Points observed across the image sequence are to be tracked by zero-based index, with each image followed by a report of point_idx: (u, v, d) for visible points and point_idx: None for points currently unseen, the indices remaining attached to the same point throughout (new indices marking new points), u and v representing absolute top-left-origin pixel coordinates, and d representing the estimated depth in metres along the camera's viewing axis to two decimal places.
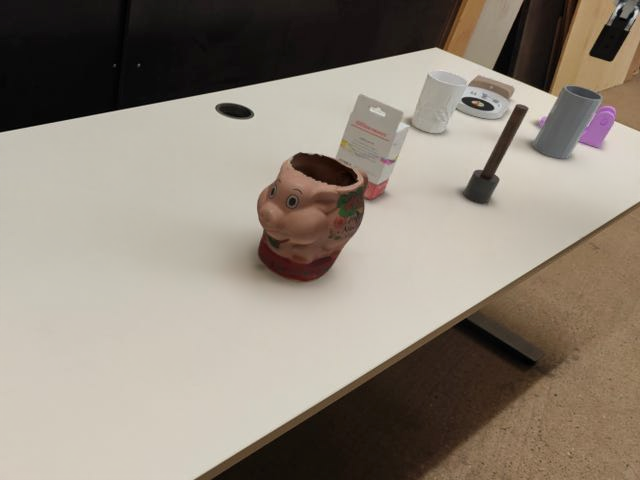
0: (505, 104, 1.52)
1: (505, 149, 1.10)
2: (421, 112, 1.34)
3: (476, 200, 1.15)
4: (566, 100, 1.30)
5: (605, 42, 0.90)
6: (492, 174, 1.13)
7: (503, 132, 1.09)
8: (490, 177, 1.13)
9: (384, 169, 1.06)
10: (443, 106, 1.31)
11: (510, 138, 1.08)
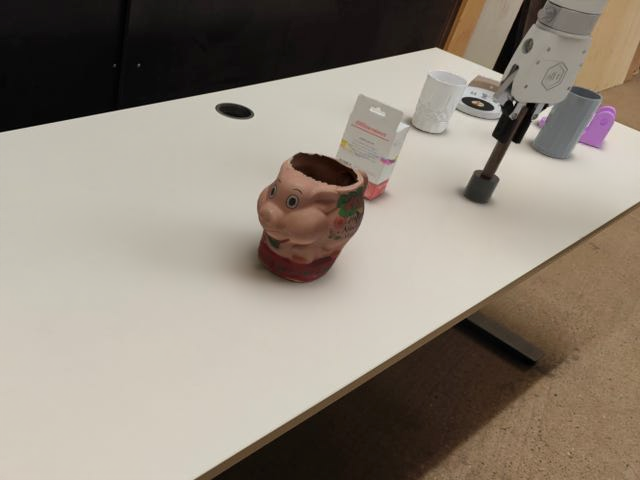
0: None
1: (505, 149, 1.10)
2: (421, 112, 1.34)
3: (476, 200, 1.15)
4: (566, 100, 1.30)
5: (498, 126, 1.08)
6: (492, 174, 1.13)
7: None
8: (490, 177, 1.13)
9: (384, 169, 1.06)
10: (443, 106, 1.31)
11: (510, 138, 1.08)
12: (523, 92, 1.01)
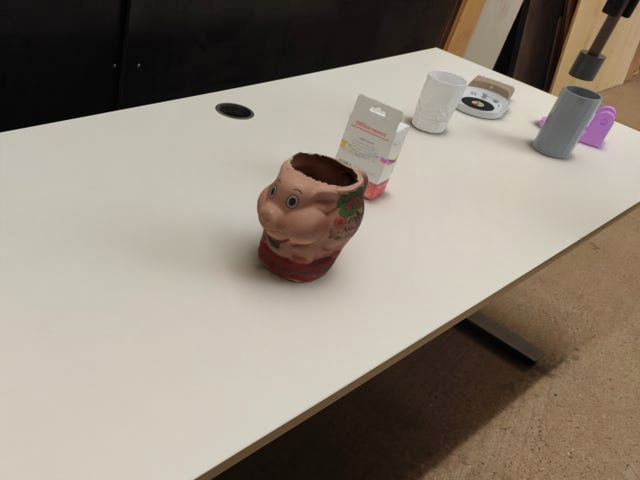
0: (505, 104, 1.52)
1: (615, 24, 1.15)
2: (421, 112, 1.34)
3: (583, 78, 1.20)
4: (566, 100, 1.30)
5: (610, 0, 1.13)
6: (600, 51, 1.18)
7: None
8: (597, 54, 1.18)
9: (384, 169, 1.06)
10: (443, 106, 1.31)
11: (621, 12, 1.13)
12: None
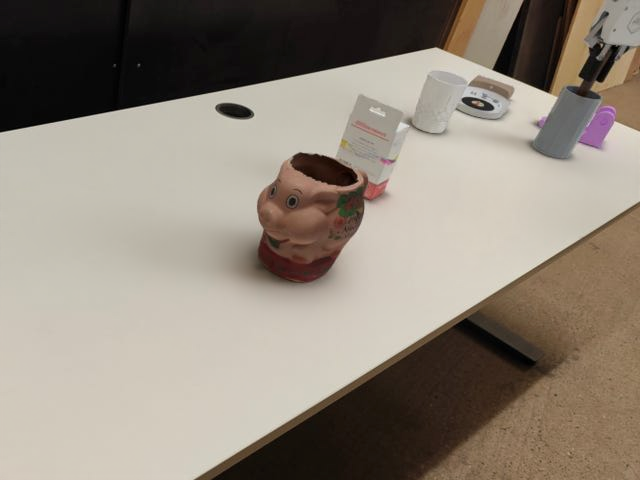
0: (505, 104, 1.52)
1: (590, 87, 1.29)
2: (421, 112, 1.34)
3: None
4: (566, 100, 1.30)
5: (585, 67, 1.27)
6: None
7: None
8: None
9: (384, 169, 1.06)
10: (443, 106, 1.31)
11: (595, 77, 1.27)
12: (611, 35, 1.20)
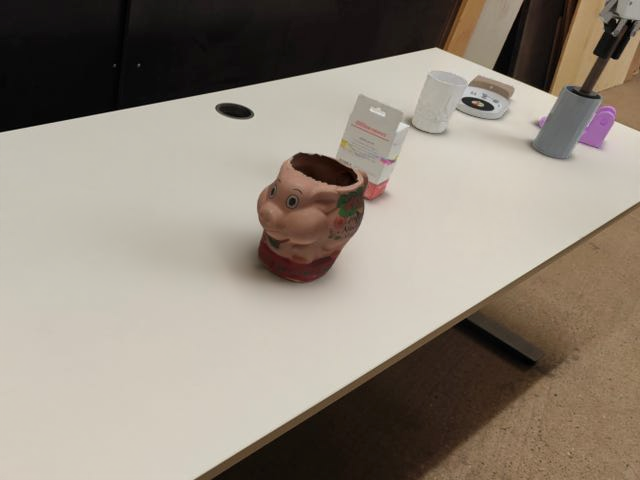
0: (505, 104, 1.52)
1: (604, 65, 1.26)
2: (421, 112, 1.34)
3: None
4: (566, 100, 1.30)
5: (600, 43, 1.24)
6: (591, 88, 1.29)
7: None
8: (589, 91, 1.29)
9: (384, 169, 1.06)
10: (443, 106, 1.31)
11: (610, 54, 1.24)
12: (627, 9, 1.17)
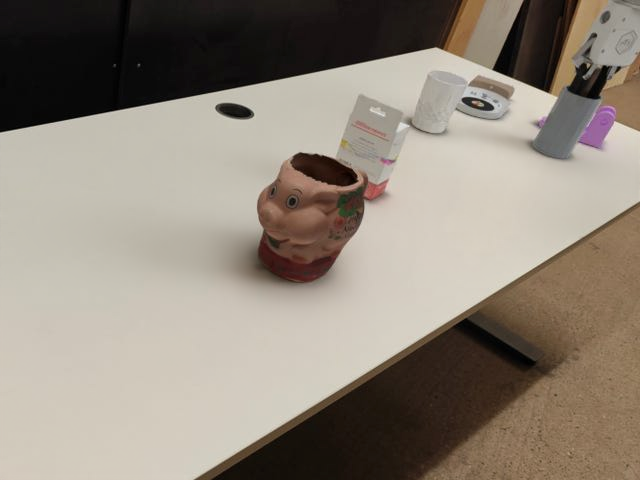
0: (505, 104, 1.52)
1: None
2: (421, 112, 1.34)
3: None
4: (566, 100, 1.30)
5: (572, 86, 1.29)
6: None
7: None
8: None
9: (384, 169, 1.06)
10: (443, 106, 1.31)
11: (585, 95, 1.30)
12: (600, 56, 1.22)
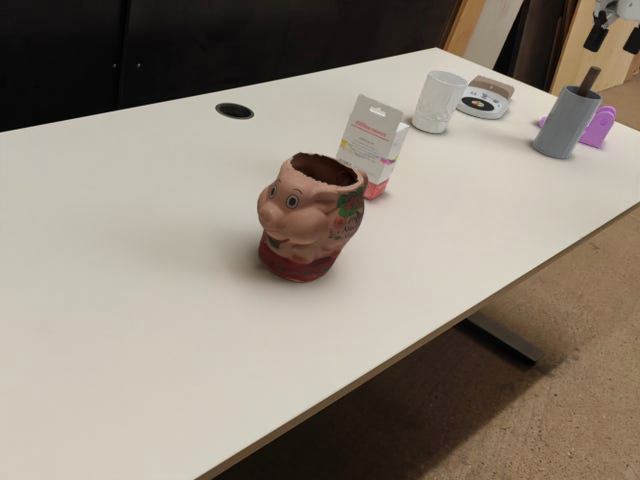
0: (505, 104, 1.52)
1: None
2: (421, 112, 1.34)
3: None
4: (566, 100, 1.30)
5: (590, 36, 1.22)
6: None
7: (578, 90, 1.30)
8: None
9: (384, 169, 1.06)
10: (443, 106, 1.31)
11: (585, 95, 1.30)
12: (628, 10, 1.17)
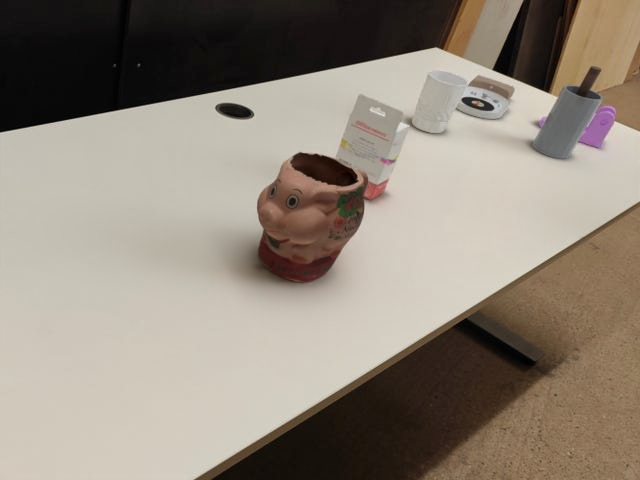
0: (505, 104, 1.52)
1: None
2: (421, 112, 1.34)
3: None
4: (566, 100, 1.30)
5: None
6: None
7: (578, 90, 1.30)
8: None
9: (384, 169, 1.06)
10: (443, 106, 1.31)
11: (585, 95, 1.30)
12: None
